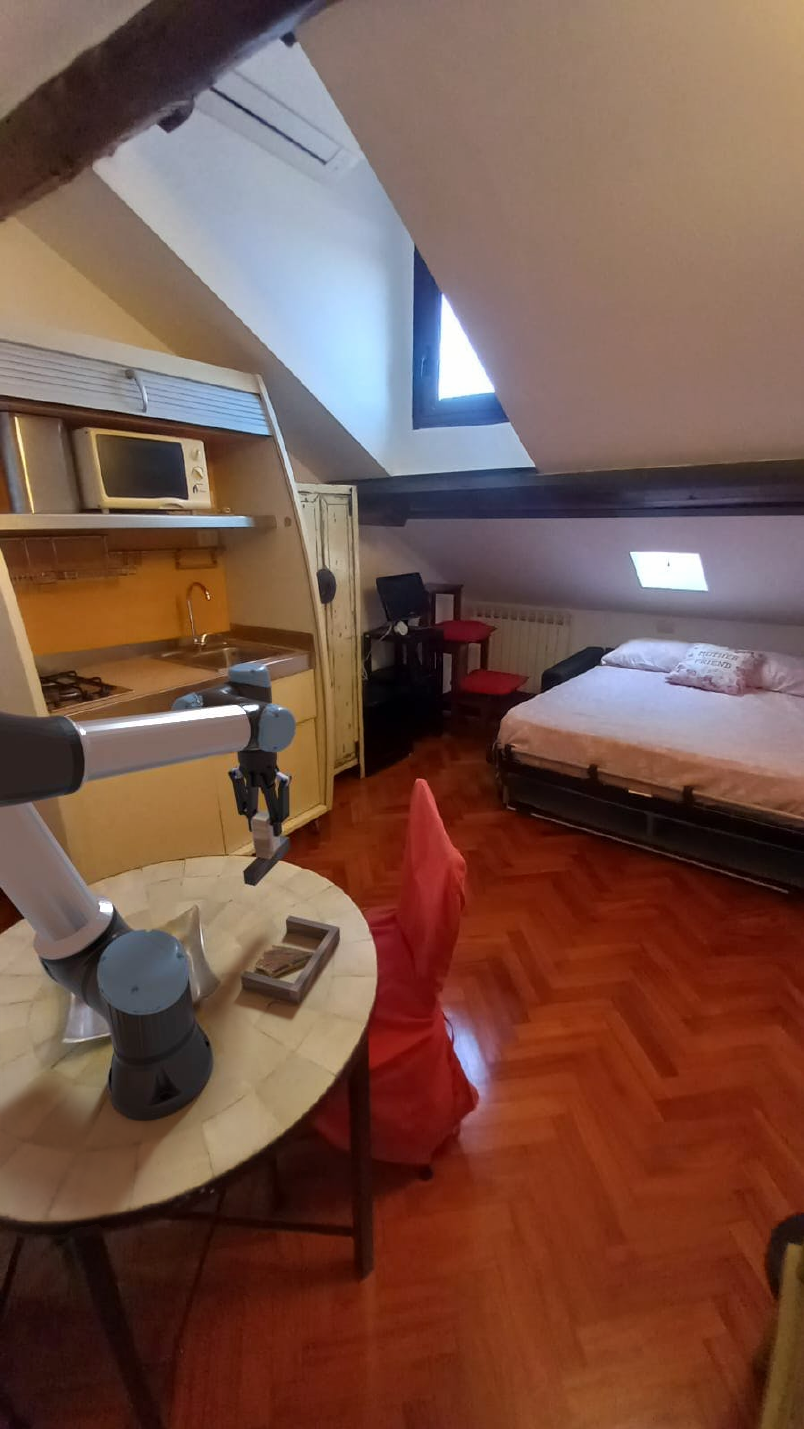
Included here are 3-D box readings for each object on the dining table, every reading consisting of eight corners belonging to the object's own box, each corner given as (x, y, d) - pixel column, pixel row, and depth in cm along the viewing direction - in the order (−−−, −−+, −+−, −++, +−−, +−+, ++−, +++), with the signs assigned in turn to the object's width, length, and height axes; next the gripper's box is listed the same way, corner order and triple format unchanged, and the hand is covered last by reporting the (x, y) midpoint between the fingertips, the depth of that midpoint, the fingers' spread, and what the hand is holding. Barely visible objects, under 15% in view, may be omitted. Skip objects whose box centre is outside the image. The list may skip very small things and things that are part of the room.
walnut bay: (298, 1005, 106) (297, 991, 105) (242, 989, 109) (240, 976, 108) (340, 939, 122) (339, 927, 121) (290, 927, 125) (289, 915, 124)
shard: (320, 959, 117) (320, 951, 117) (304, 987, 110) (304, 979, 110) (270, 949, 120) (269, 942, 119) (252, 976, 113) (251, 969, 112)
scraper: (256, 886, 118) (250, 834, 114) (242, 883, 119) (236, 831, 115) (291, 849, 130) (287, 800, 126) (279, 846, 131) (274, 798, 127)
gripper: (302, 740, 116) (310, 844, 124) (231, 731, 121) (244, 831, 129) (283, 755, 109) (292, 863, 117) (209, 744, 115) (223, 849, 123)
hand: (267, 846), depth 123 cm, fingers closed on scraper, 3 cm apart
